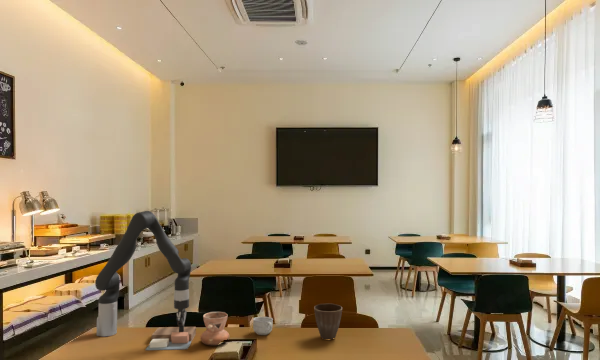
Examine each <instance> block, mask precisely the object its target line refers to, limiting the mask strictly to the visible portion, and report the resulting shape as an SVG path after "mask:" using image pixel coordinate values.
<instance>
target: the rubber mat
mask: <svg viewBox="0 0 600 360" xmlns="http://www.w3.org/2000/svg"><path fill="white" fill-rule="evenodd" d="M191 343H192V342H191V341H188V343H172V342H169V344H168V346H167V347H159V348H150V344H148V346H147V347H146V348H145V351H175V350H177V351H178V350H188V349H189V347H190V346H191Z"/></svg>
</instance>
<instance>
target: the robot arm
mask: <svg viewBox="0 0 600 360" xmlns="http://www.w3.org/2000/svg"><path fill="white" fill-rule="evenodd" d="M146 229H148V230H149V231H150V232H151V233H152V234H153V236H154V238H155V242H156V244H157V245H156V246H157V247H158V250H159V251H160V252H161V254H162V255H163V256H164V257H165V258H166V260H167V263H168V264H169V267H170V268H171V270H172V271H173V272H174V273H175V274H177V277H176V278H175V279H174V293H173V308H174V309H175V310H177V312H176V318H175V320H176V325H177V326H178V327H179V332H184V327H185V323H186V318H187V310H186V309H188V308H190V289H189V288H190V284H189V281H190V277H191V270H192V263H191V261H190V259H189V258H187V257H183V258H181V256H180V255H179V253H180V251H179V249H178V248H177V246H176V245H175V244H174V243H173V242H172V240H171V239H170V238H169V237H168V235H167V234H166V232H165V231H164V228H163V226H162V225H161V224H160V221H159V220H158V219H157V217H156V215H155V214H154V213H153V212H152V211H151V210H144V211H140V212H136V213H135V214H134V215H133V216H132V217H131V219H130V221H129V224H128V226H127V229H126V230H125V232H124V234H123V235H122V238H121V239H120V241H119V243H118V244H117V245H116V246H115V247H116V248H115V249H114V251H113V253H112V255H111V256H110V257H109V259H108V261H107V262H106V264H105V265H104V266H103V268H102V269H101V271H100V272H99V273H98V275H97V276H96V279H95V281H94V285H95V288H96V289H97V290H98V291H101V292H102V291H104V293H103V294H101V295H100V296H99V297H98V314H97V315H98V316H97V318H96V336H97V337H111V336H114V335H116V334H117V332H118V331H117V330H118V299H119V296H120V282H121V280H120V275H119V273H118V271H119V270H120V269H121V268H122V267H124V266H125V265H126V264H127V263H128V262H129V261H130V260H131V258H132V257H133V255H134V254H135V252H136V248H137V240H138V238H139V237H140V236H141V235H140V234H141V233H142V232H143V231H144V230H146Z"/></svg>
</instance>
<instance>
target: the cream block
mask: <svg viewBox="0 0 600 360" xmlns="http://www.w3.org/2000/svg"><path fill="white" fill-rule="evenodd" d="M168 344H169V339H152V338H151V341H150V342H149V345H150V348H159V347H167V346H168Z"/></svg>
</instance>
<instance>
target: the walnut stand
mask: <svg viewBox="0 0 600 360" xmlns="http://www.w3.org/2000/svg"><path fill="white" fill-rule="evenodd" d="M172 332H179V326H168V327H167V326H165V327H164V326H163V327H157V328H156V330H155V331H153V333H152V334H151V340H152V339H169V342H172V340H171V334H172ZM184 332H188V335H189V341H191V343H192V341H193V340H194V338H195V336H196V334H197V327H196V326H184Z"/></svg>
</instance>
